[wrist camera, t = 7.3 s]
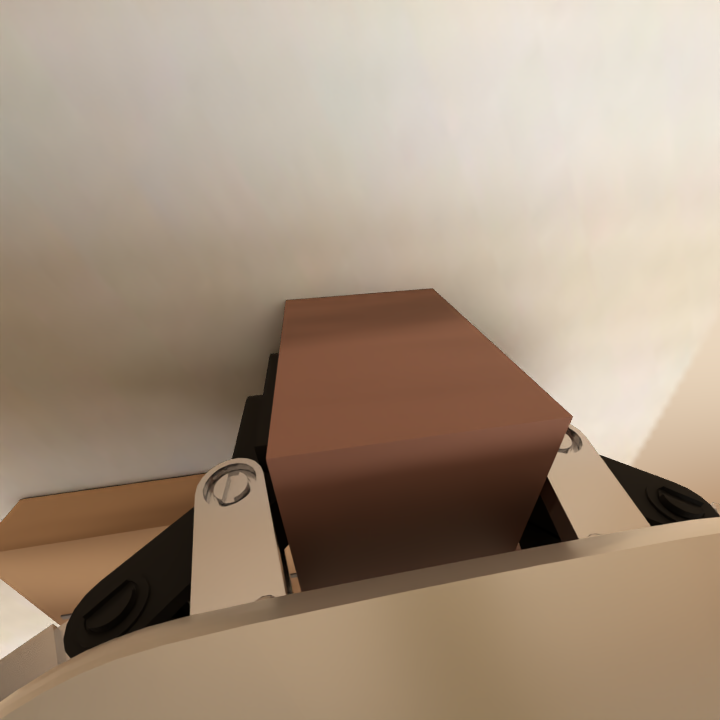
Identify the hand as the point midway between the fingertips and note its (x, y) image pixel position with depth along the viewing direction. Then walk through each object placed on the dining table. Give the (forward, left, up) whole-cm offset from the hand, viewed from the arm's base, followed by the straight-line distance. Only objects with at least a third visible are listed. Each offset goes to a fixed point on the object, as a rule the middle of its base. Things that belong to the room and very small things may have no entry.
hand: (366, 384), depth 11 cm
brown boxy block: (+3, 0, -1) cm, 3 cm away
